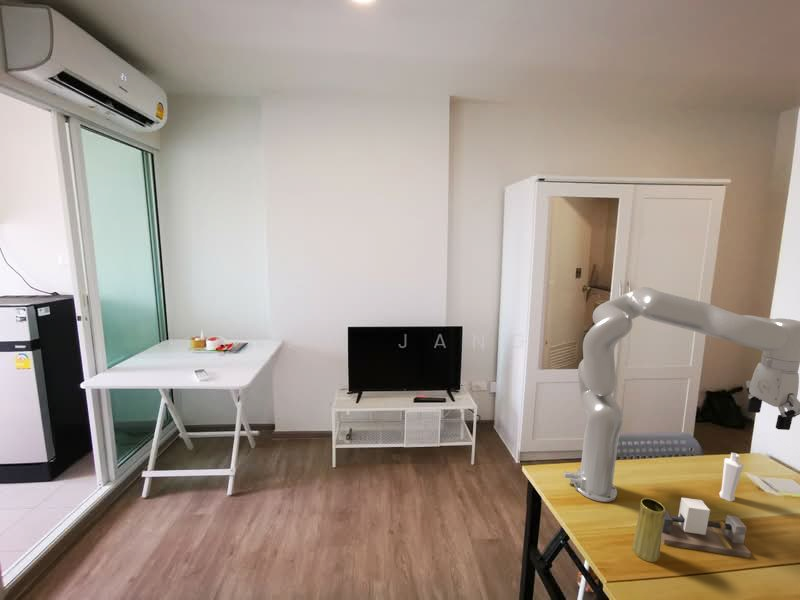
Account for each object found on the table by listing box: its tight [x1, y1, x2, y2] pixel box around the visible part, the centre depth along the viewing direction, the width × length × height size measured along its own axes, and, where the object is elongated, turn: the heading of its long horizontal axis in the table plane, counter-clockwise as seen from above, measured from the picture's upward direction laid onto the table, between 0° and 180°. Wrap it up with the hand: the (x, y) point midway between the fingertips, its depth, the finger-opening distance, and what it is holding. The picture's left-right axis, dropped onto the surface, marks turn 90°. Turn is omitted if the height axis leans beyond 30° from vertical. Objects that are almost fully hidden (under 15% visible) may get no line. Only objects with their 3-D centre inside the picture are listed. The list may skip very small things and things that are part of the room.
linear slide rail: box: [661, 508, 752, 559], centre depth 106 cm, size 20×10×6 cm, turn 78°
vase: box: [631, 497, 666, 563], centre depth 99 cm, size 6×6×14 cm
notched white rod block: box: [677, 497, 711, 535], centre depth 105 cm, size 5×4×8 cm
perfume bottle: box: [718, 452, 744, 502], centre depth 121 cm, size 5×4×15 cm
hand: (767, 420), depth 110 cm, fingers open, 9 cm apart
